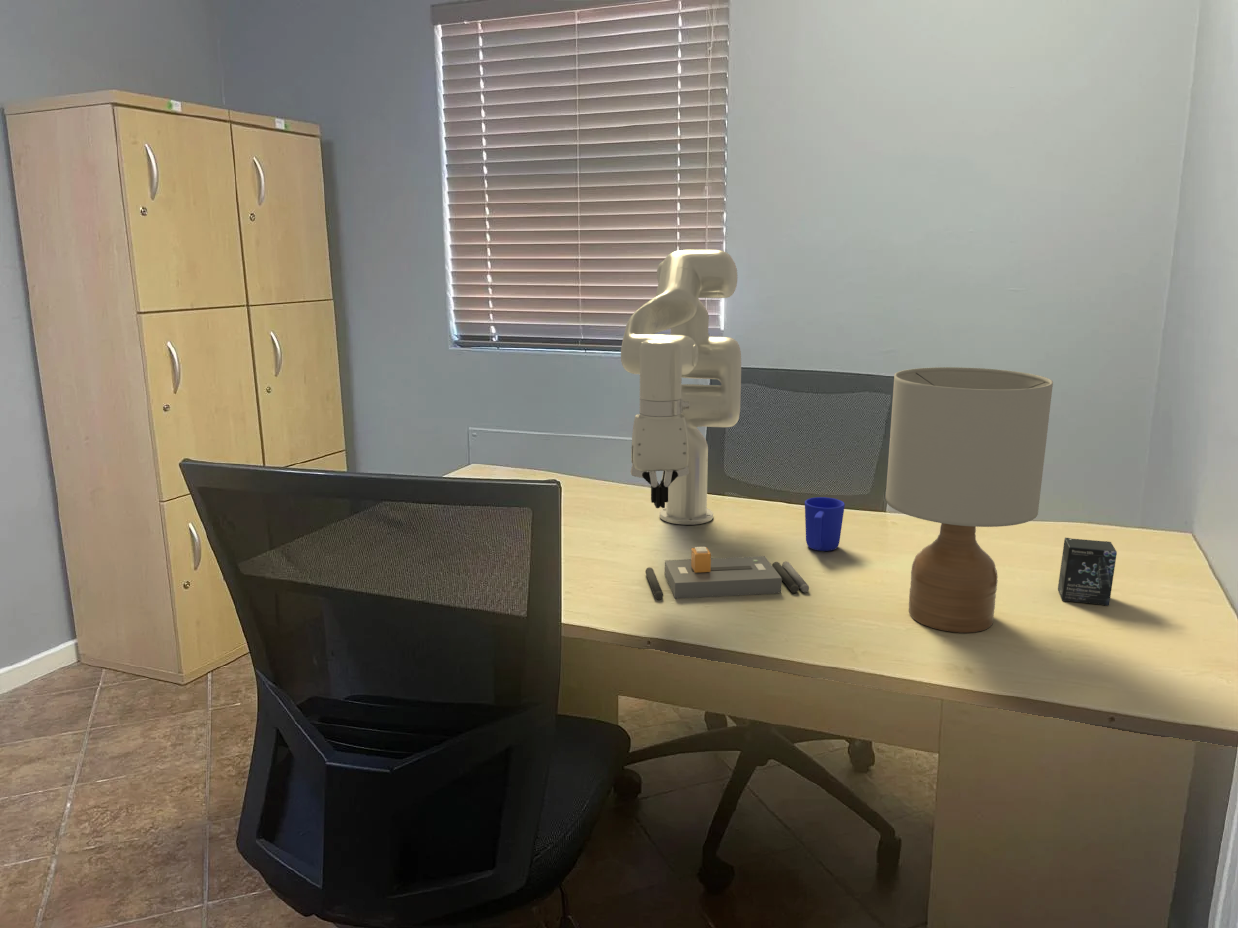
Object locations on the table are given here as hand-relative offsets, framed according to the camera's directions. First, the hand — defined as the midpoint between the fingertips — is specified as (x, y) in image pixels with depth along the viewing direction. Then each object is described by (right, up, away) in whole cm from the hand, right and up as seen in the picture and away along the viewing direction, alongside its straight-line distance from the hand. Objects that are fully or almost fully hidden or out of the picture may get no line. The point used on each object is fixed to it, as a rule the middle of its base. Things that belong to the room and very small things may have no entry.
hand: (659, 506), depth 167 cm
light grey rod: (+26, -15, +7) cm, 31 cm away
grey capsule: (+24, -15, +7) cm, 29 cm away
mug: (+35, -11, +24) cm, 44 cm away
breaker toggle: (+8, -12, +4) cm, 15 cm away
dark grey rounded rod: (-1, -15, +4) cm, 16 cm away
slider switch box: (+12, -15, +6) cm, 20 cm away
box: (+77, -17, -2) cm, 79 cm away
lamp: (+50, -19, -10) cm, 54 cm away
